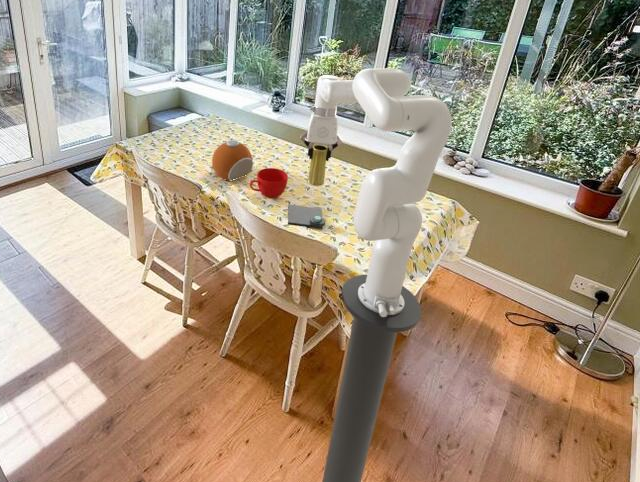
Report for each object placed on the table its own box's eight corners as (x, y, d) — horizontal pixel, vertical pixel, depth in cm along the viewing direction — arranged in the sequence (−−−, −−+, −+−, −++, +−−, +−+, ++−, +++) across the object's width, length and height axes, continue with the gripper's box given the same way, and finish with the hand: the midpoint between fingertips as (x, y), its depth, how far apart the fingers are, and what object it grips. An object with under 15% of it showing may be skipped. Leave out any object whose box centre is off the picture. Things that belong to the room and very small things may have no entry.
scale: (324, 230, 154) (325, 224, 153) (287, 225, 156) (288, 220, 155) (322, 210, 167) (323, 205, 166) (288, 206, 170) (289, 201, 169)
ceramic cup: (243, 192, 180) (243, 172, 176) (277, 185, 186) (278, 166, 182) (255, 207, 169) (257, 185, 165) (291, 199, 175) (293, 179, 171)
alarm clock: (236, 163, 207) (237, 131, 200) (259, 177, 194) (260, 143, 187) (204, 173, 196) (204, 140, 190) (226, 188, 183) (227, 153, 177)
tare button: (321, 223, 155) (321, 219, 154) (314, 222, 155) (314, 219, 154) (320, 219, 157) (321, 216, 156) (314, 218, 157) (314, 215, 157)
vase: (325, 186, 150) (330, 151, 145) (309, 186, 150) (313, 150, 145) (321, 178, 156) (326, 144, 150) (305, 178, 156) (310, 143, 150)
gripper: (300, 112, 141) (294, 160, 148) (351, 116, 139) (343, 165, 145) (300, 106, 148) (295, 152, 155) (349, 110, 145) (341, 157, 152)
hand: (318, 158), depth 150 cm, fingers closed on vase, 5 cm apart
